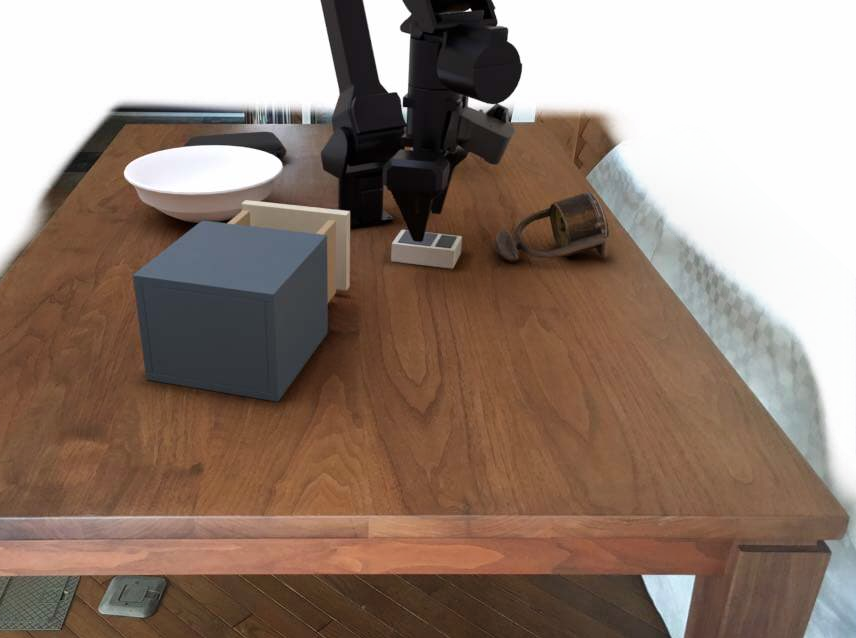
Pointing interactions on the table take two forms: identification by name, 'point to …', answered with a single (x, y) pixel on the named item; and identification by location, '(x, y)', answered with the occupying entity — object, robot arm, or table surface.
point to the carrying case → (243, 142)
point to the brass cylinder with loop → (563, 229)
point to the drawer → (308, 222)
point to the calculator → (427, 249)
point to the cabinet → (233, 308)
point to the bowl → (203, 180)
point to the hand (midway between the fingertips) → (427, 226)
